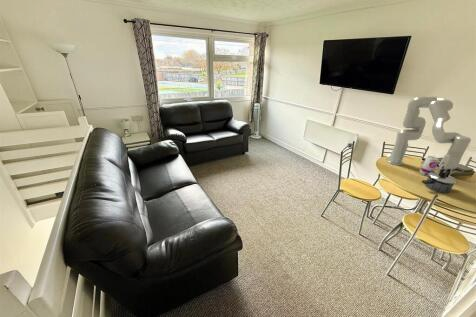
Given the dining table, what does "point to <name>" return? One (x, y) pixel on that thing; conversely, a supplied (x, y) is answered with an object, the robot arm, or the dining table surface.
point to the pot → (437, 185)
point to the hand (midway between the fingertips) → (442, 176)
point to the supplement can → (429, 165)
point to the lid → (445, 179)
